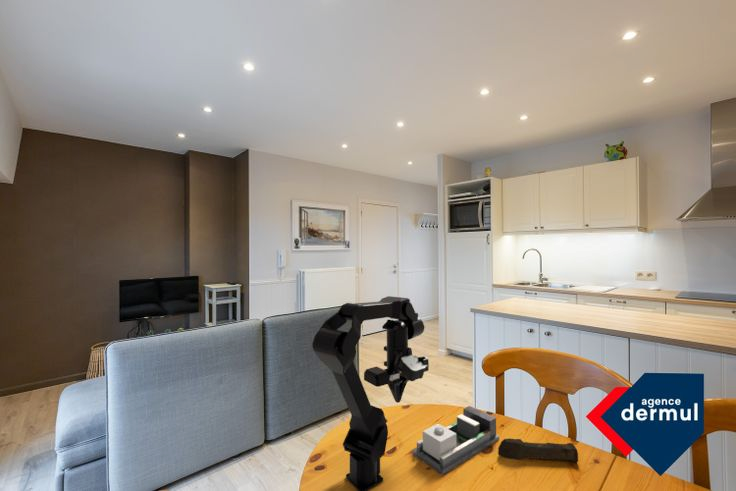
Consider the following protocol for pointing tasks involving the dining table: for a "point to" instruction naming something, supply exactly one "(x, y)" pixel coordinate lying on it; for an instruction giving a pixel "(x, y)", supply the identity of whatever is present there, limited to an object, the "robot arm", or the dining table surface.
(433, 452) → the knobbed white cube
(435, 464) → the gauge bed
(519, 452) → the hand tool
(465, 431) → the white flat block
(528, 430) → the dining table surface
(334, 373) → the robot arm
